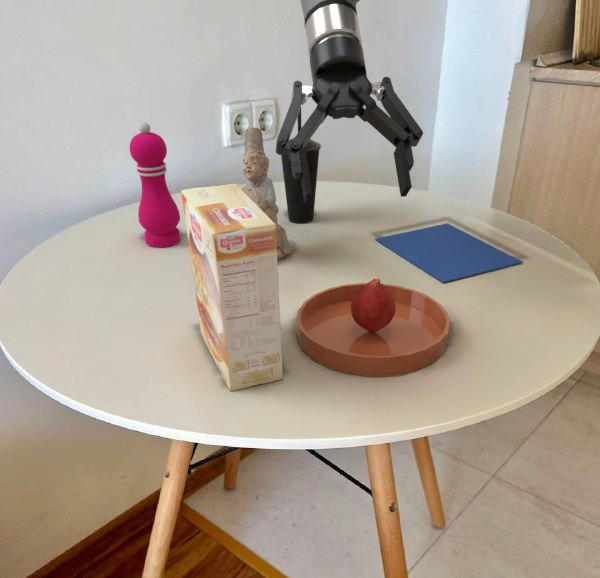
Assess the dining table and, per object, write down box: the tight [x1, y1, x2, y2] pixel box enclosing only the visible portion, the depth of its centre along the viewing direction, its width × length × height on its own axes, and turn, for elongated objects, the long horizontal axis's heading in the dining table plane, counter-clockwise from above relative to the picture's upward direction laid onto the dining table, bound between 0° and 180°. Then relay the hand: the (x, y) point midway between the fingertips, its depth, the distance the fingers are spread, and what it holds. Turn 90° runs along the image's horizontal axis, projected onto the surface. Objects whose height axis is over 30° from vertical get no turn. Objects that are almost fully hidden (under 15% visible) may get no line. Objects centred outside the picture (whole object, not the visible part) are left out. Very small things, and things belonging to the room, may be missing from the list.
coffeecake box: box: [180, 183, 284, 392], centre depth 70 cm, size 15×7×20 cm, turn 21°
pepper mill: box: [129, 122, 181, 248], centre depth 102 cm, size 7×7×20 cm
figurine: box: [240, 127, 293, 260], centre depth 96 cm, size 9×8×20 cm
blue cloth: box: [374, 222, 524, 284], centre depth 102 cm, size 20×16×1 cm
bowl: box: [296, 282, 451, 377], centre depth 79 cm, size 20×20×3 cm
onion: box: [351, 276, 396, 333], centre depth 77 cm, size 6×6×8 cm
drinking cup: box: [280, 106, 322, 224], centre depth 109 cm, size 8×8×20 cm
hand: (357, 195), depth 80 cm, fingers open, 13 cm apart
